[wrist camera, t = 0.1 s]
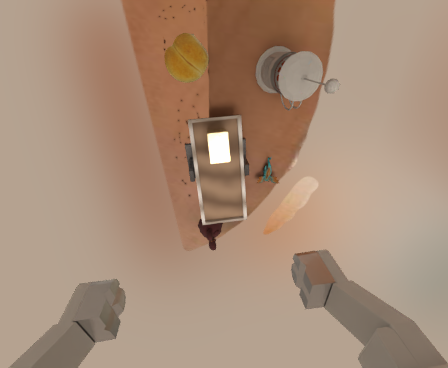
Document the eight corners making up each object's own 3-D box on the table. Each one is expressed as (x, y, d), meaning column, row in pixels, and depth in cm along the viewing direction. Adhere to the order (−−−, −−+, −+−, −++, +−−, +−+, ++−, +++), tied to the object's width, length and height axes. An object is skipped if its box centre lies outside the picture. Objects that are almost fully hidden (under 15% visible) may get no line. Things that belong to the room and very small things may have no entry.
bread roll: (158, 61, 46) (155, 61, 42) (186, 26, 43) (185, 23, 40) (187, 91, 49) (187, 93, 46) (214, 60, 47) (216, 60, 43)
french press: (296, 41, 47) (379, 35, 26) (296, 96, 53) (362, 127, 32) (253, 51, 47) (300, 53, 26) (258, 104, 53) (299, 141, 32)
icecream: (222, 214, 71) (228, 250, 59) (200, 219, 71) (201, 256, 59) (218, 198, 67) (223, 232, 55) (195, 203, 67) (195, 239, 55)
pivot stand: (185, 143, 57) (183, 158, 49) (244, 137, 57) (251, 151, 50) (190, 176, 62) (190, 193, 55) (245, 170, 63) (251, 186, 56)
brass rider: (206, 130, 48) (207, 133, 41) (224, 128, 48) (227, 131, 42) (209, 156, 50) (210, 163, 43) (226, 154, 50) (230, 161, 44)
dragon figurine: (255, 154, 64) (254, 180, 66) (258, 156, 57) (257, 185, 58) (277, 154, 64) (275, 180, 65) (283, 156, 57) (281, 185, 58)
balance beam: (188, 119, 49) (187, 120, 46) (238, 114, 50) (241, 115, 46) (202, 218, 58) (202, 225, 55) (244, 213, 59) (246, 219, 56)
